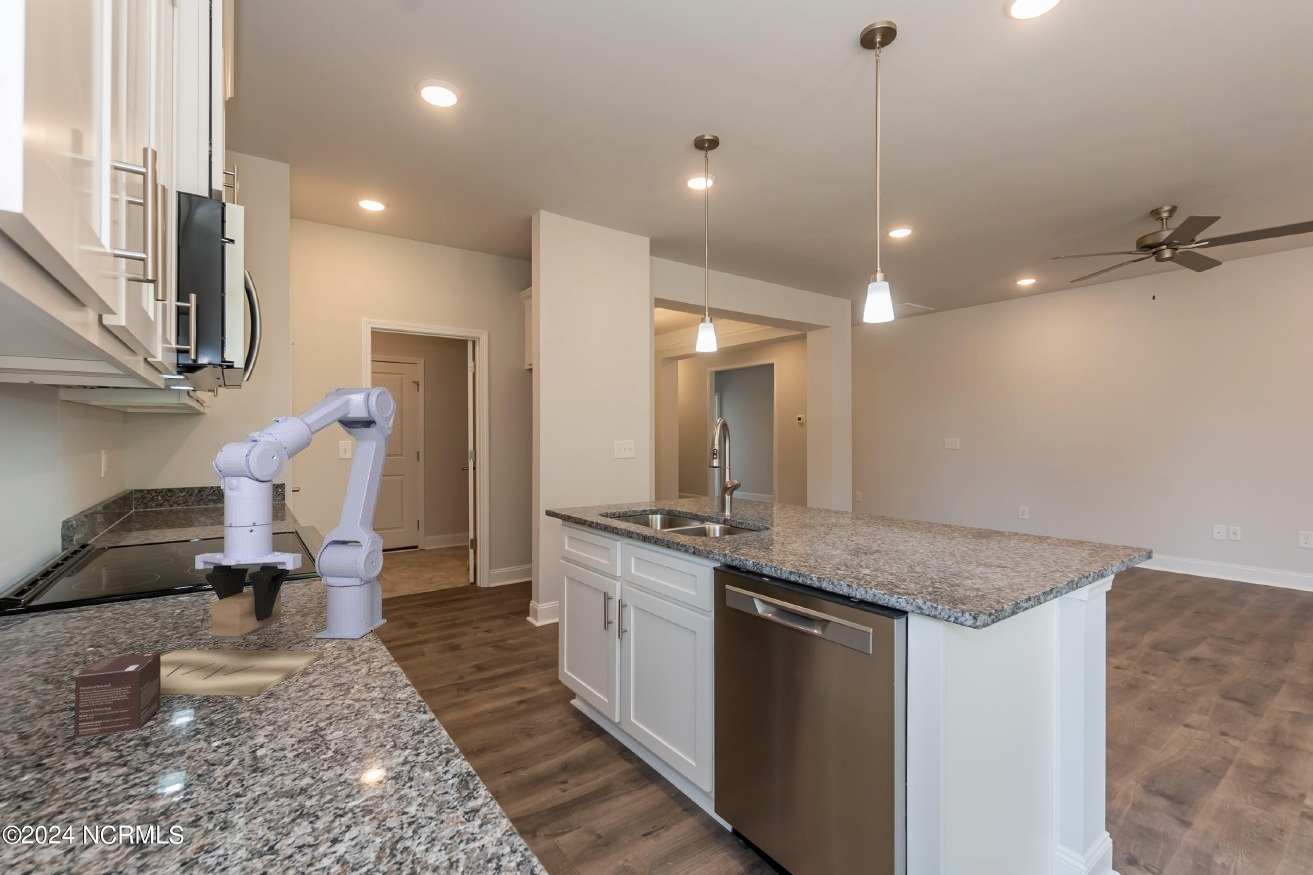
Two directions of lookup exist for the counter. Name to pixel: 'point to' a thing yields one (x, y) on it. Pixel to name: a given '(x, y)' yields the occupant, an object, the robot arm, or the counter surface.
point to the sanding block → (240, 616)
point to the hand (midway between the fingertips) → (248, 618)
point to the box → (117, 694)
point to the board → (229, 671)
